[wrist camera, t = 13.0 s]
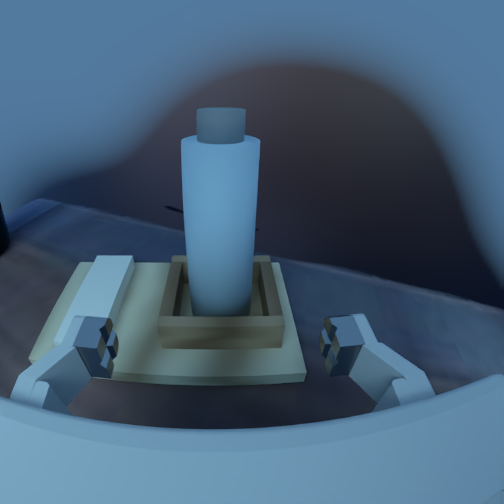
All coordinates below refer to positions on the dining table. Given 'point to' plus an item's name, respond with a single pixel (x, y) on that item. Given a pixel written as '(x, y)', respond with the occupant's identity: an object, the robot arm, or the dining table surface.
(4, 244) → the green wine bottle
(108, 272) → the white rectangular bar
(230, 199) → the tapered blue cylinder
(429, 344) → the dining table surface
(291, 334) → the jig
